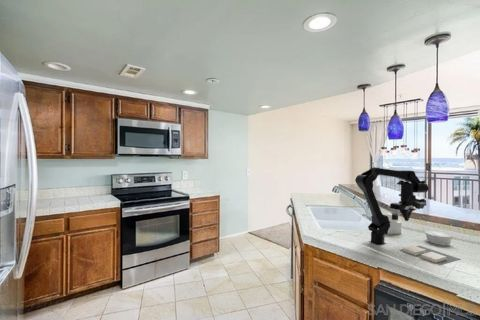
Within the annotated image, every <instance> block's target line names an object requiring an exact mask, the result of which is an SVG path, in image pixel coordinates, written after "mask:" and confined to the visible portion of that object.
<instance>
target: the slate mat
mask: <svg viewBox="0 0 480 320" xmlns="http://www.w3.org/2000/svg"><path fill="white" fill-rule="evenodd" d="M415 246H416V247H419V248H422V249H425V250H426V253H429V252H434V253H437V254H440V255H443V256H446V257H447V260H445V261H442V262H438V263H434V262H431V261H429V260H426V259H423V258H421V254H420V255H416V256H415V255H412V254H410V253H407V252H404V251H403V248H402V249H399V251H400V252H403V253H405V254H407V255H408V254H409V255H411V256H414V257H416V258H419V259H422V260H425V261H427V262H430V263H432V264H435V265H439V266H442V265H443V266H444V265H446V264H450V263H452V262H453V263H454V262H457V261H461V260H462V259H461V258H458V257H457V256H456V257H455V256H452V255H449V254H446V253H443V252H440V251H438V250H434V249H432V248H428V247H425V246H422V245H415ZM424 254H425V253H424Z"/></svg>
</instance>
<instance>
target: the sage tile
mask: <svg viewBox="0 0 480 320" xmlns="http://www.w3.org/2000/svg"><path fill="white" fill-rule="evenodd" d="M416 246H417V245H409V246H404V247H402V249H403V251H404V252H403V251H402V252H403V253H405V252H407V253H406V254H408V253H410V254H409V255H411V254H412V255H411V256H413V255H415V256H414V257H416V255H420V254H424V253H426V250H425V249H422V248H419V247H416Z"/></svg>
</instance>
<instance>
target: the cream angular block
mask: <svg viewBox="0 0 480 320" xmlns="http://www.w3.org/2000/svg"><path fill="white" fill-rule="evenodd" d="M422 258H423V259H422ZM420 259H422V260H424V259H426V260H425V261H427V260H429V261H428V262H430V261H431V262H430V263H432V262H434V263H433V264H435V263H438V262H442V261H445V260H447V257H446V256H443V255H440V254H437V253H434V252H429V253H425V254H421V258H420Z"/></svg>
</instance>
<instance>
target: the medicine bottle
mask: <svg viewBox="0 0 480 320" xmlns="http://www.w3.org/2000/svg"><path fill="white" fill-rule="evenodd" d="M386 216H388V218H389V221H390V222H391V223H390V228H389V230H388V233H387V234H389V235H401V234H402V222H400V221H399V214H397V213H396V212H387V213H386Z"/></svg>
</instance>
